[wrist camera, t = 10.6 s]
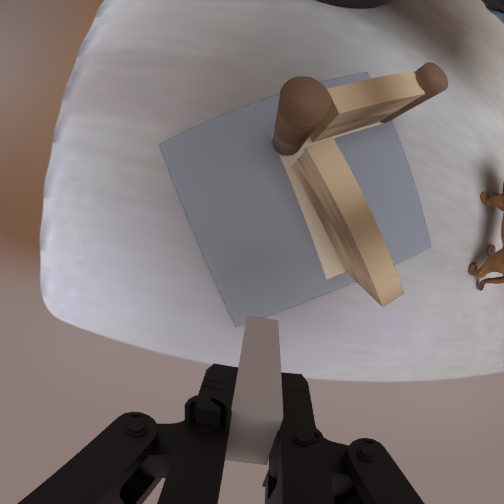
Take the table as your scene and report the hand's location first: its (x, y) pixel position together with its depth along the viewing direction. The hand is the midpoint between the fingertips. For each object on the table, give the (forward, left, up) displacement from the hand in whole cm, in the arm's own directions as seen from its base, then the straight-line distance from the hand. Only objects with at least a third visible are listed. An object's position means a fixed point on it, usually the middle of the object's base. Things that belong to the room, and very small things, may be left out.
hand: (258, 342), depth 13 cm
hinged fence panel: (-7, -3, -10) cm, 13 cm away
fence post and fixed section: (-11, -10, -11) cm, 19 cm away
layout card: (-6, -6, -11) cm, 14 cm away
